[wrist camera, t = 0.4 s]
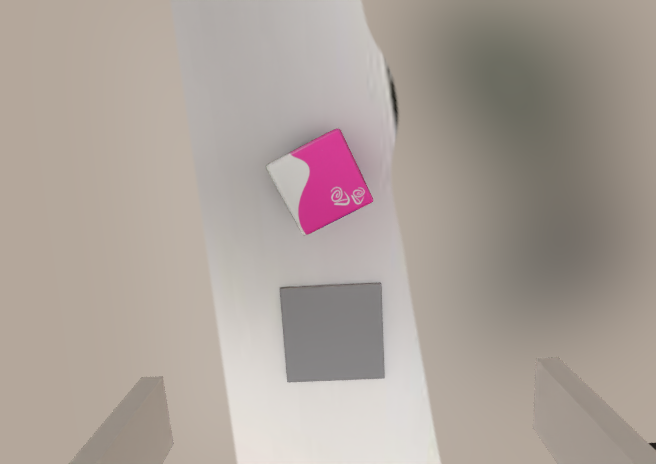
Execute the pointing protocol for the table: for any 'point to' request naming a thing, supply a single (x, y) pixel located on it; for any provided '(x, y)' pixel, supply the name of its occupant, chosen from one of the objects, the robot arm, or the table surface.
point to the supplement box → (320, 182)
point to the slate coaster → (333, 332)
